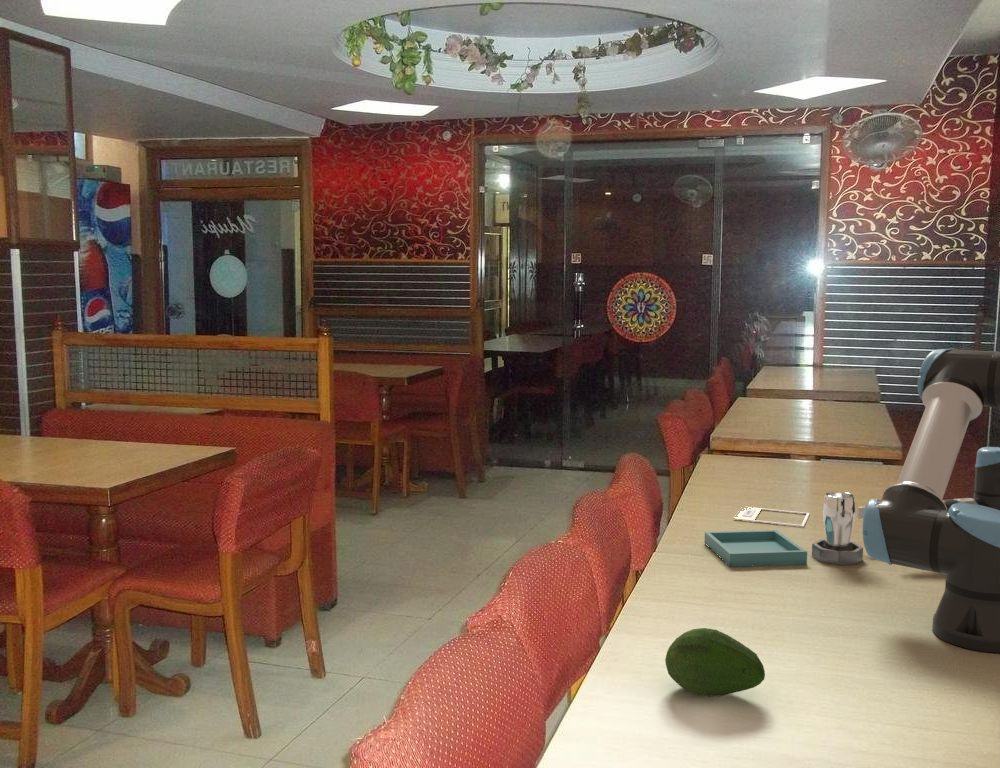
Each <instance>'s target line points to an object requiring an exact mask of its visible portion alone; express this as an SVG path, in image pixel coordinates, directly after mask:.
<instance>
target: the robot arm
mask: <svg viewBox="0 0 1000 768" xmlns="http://www.w3.org/2000/svg"><path fill="white" fill-rule="evenodd" d="M917 393H918V396H919V398H920V399H921V400H922V404H923V405H924V407H925V409H924V411H923V413H922V416H921V419H920V422H919V424H918V427H917V429H916V432H915V434H914V437H913V440H912V443H911V445H910V447H909V449H908V450H909V451H908V453H907V454H906V458H905V461H904V464H903V465H902V468H901V471H900V474H899V477H898V478H897V482H896V483H895V484H892V485H890V486H888V487H887V488H886V489H885V490H884V491H883V495H882V497H881V499H878V498H871V499H869V500H868V501H867V502H866V503H865V504H866V505H865V506H857V508H856V510H857V511H856V519H861V520H862V539H863V546H864V549H865V551H866V553H867V555H868V556H869V557H870V558H871V559H872V560H875V561H876V562H877V561H878V562H882V563H887V564H888V565H890V566H892V565H897V566H901V567H906V568H911V569H917V570H922V571H925V572H932V573H937V574H942V575H945V584H944V585H945V586H944V592H943V594H942V596H941V598H940V601H939V603H938V606H937V608H936V611H935V612H934V614H933V616H932V627H931V631H932V633H933V634H934V635H935V636H936V637H938V638H939V639H940V640H942V641H945V642H946V643H949V644H952V645H955V646H957V647H960V648H965V649H969V650H974V651H979V652H985V653H1000V447H999V446H984V447H983V446H982V447H981V448H979V449H978V450H977V452H976V459H975V460H976V461H975V464H974V487H973V488H974V489H973V497H964V498H962V497H961V498H953V499H951V498H949V499H944V496H945V493H946V491H947V487H948V484H949V482H950V478H951V475H952V473H953V470H954V468H955V464H956V461H957V458H958V457H959V453H960V449H961V446H962V444H963V440H964V438H965V435H966V432H967V428H968V426H969V424H970V421H973V420H975V419H977V418H978V417H979V416H980V415H981V413H982V411H983V408H997V409H999V408H1000V351H998V350H996V351H993V350H981V349H980V350H976V349H961V348H960V349H959V348H956V347H955V348H952V347H951V348H939V349H934V350H932V351H931V352H929V353H928V354H927V355H926V356H925V358H924V360H923V361H922V364H921V366H920V368H919V376H918V378H917Z"/></svg>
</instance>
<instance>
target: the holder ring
mask: <svg viewBox="0 0 1000 768" xmlns="http://www.w3.org/2000/svg"><path fill="white" fill-rule="evenodd" d="M825 543H826V538H825V539H821V538H820V539H817V540H815V541H814V542H812V543H811V544H812V546H811V557H813V558H814V559H816V560H817V561H818V562H822V563H825V564H831V565H836V566H849V565H851V566H853V565H854V566H856V565H857V564H859V563H860V562H862V561H864V560H863V559H864V547H863V546H861V545H860V544H858V543H857V542H854V541H850V551H835V550H830V549H825Z"/></svg>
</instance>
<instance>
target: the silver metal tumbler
mask: <svg viewBox="0 0 1000 768" xmlns="http://www.w3.org/2000/svg"><path fill="white" fill-rule="evenodd" d="M822 505H823V506H822V507H823V508H822V520H823V521H822V523H823V528H824V530H823V531H824V536H825V539H826V543H825V549H830V550H835V551H850V542H851V538H852V534H853V531H854V530H853V529H854V525H855V519H856V495H855V494H854V493H850V492H845V491H827V492H825V493H824V497H823V504H822Z"/></svg>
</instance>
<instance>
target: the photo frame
mask: <svg viewBox="0 0 1000 768" xmlns="http://www.w3.org/2000/svg"><path fill="white" fill-rule="evenodd" d="M747 507H748V508H747V510H746V508H744V509H745V510H744V511H740V513H739V514H738V515H737V516H738V517H735V516H734V517H733V518H735V519H741V520H748V521H755V522H764V523H771V524H770V525H773V524H778V525H777V526H782V525H786V526H785V527H792V526H796V527H795V528H803V529H804V528H805V525H806V524H807V522H808V519H809V517H810V512H804V511H803V512H801V511H794V510H793V511H792V510H783V509H775V508H774V509H773V508H763V507H753V506H747ZM752 507H753V508H752ZM749 508H751V509H749ZM761 509H765V510H772V511H779V512H778V513H782V512H789V513H788V514H792V513H797V514H796V515H802V514H803V515H805V516H804V518H803V521H802V523H801V524H797V523H785V522H778V521H777V522H776V521H769V520H768V521H767V520H758V519H757V518H758V517H759V515H760V514H761V512H762V511H761ZM742 510H743V509H742ZM760 511H761V512H760ZM772 511H771V512H772ZM759 513H760V514H759ZM758 514H759V515H758ZM757 516H758V517H757ZM756 517H757V518H756ZM755 519H756V520H755Z"/></svg>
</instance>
